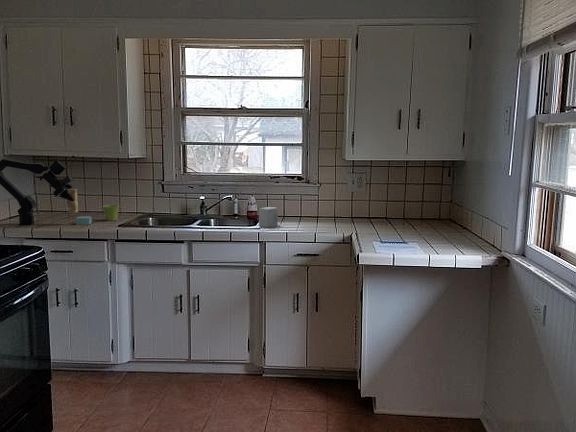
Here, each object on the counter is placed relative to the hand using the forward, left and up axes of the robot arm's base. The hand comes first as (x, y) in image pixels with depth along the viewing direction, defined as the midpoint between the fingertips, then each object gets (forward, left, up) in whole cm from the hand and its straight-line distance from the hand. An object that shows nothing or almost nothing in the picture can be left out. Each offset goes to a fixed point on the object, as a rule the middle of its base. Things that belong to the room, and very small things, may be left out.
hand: (74, 200), depth 300 cm
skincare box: (+110, +1, -14) cm, 111 cm away
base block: (+4, +1, -14) cm, 14 cm away
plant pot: (+15, +15, -14) cm, 25 cm away
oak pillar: (-1, 0, -7) cm, 7 cm away
